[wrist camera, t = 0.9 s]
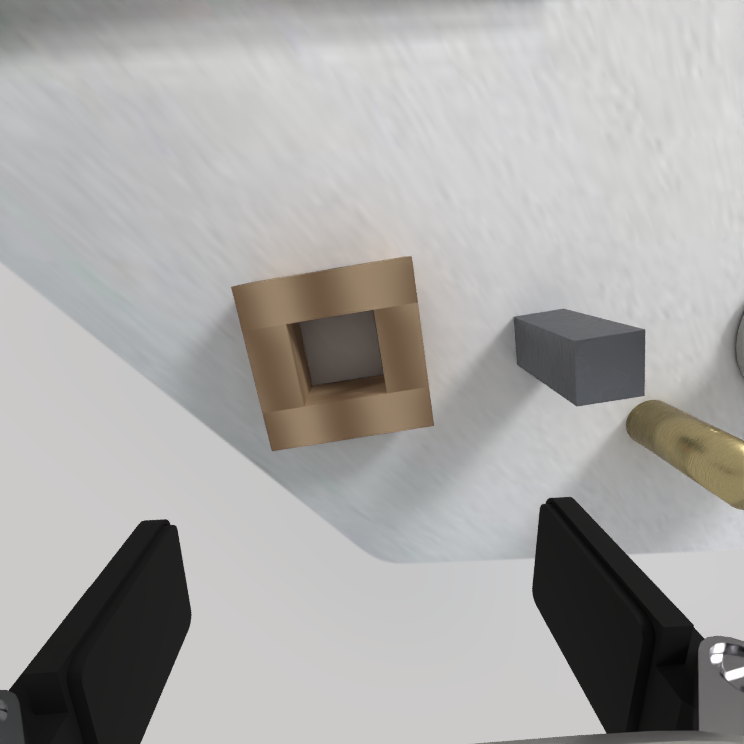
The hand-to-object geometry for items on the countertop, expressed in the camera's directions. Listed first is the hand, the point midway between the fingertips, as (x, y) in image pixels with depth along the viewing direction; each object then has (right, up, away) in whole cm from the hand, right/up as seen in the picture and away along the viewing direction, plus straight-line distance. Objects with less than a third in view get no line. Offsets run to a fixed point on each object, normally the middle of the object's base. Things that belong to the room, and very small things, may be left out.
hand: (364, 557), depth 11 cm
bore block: (-2, +7, +23) cm, 24 cm away
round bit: (+24, 0, +25) cm, 35 cm away
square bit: (+14, +8, +23) cm, 28 cm away
